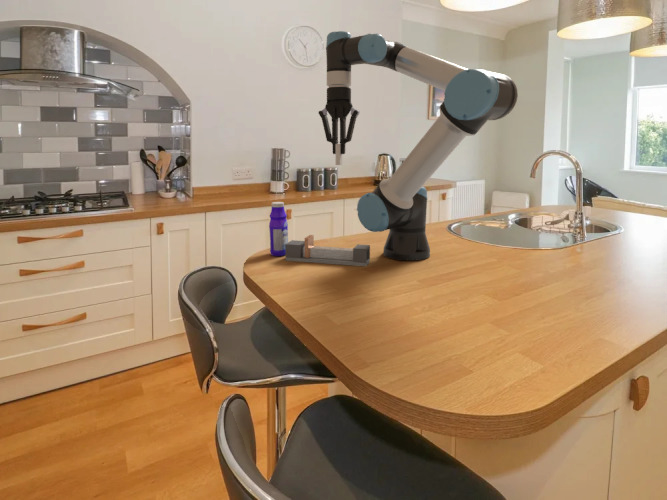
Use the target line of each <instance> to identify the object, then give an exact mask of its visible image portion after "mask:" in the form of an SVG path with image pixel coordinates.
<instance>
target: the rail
mask: <svg viewBox="0 0 667 500" xmlns="http://www.w3.org/2000/svg"><path fill="white" fill-rule="evenodd" d="M304 245H305V240H296V239H295V240H293V239H291V240H290V241H288V243H286V244H285V251H286V254H285V261H287V262H299V263H301V262H302V263H315V264H326V265H327V264H328V265H343V266H355V267H367V265H368V264H369V263H370V262H371V245H370V244H360V243H359V244H358V243H357V244H356V245H355V246H354V247H353V248H352V249H353V260H340V259H326V258H312V257H309V258H305V257H301V247H302V246H304Z"/></svg>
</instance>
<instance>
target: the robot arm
mask: <svg viewBox="0 0 667 500" xmlns="http://www.w3.org/2000/svg"><path fill="white" fill-rule="evenodd" d="M325 51H326V86H327V88H326V104H325V107H324V108H323V109H322V110H319V111H318V115H319V116H320V118H321V120H322V126H323V131H324V134H325V140H326V141H327V142H329V143H331V144H332V155H335V166H341V165H342V166H343V155H345V154H346V145H347V143H350V142H351V141H352V139H353V134H354V130H355V124H356V121H357V118H358V116H359V114H360V110H359V109H356V108H355V107H354V106H353V103H352V88H351V86H352V66H356V65H369V66H370V65H371V66H377V67H383V68H387V69H390V70H391V71H395V72H397V73H400V74H403V75H405V76H407V77H410V78H413V79H414V80H418V81H419V82H422V83H424V84H426V85H429V86H431V87H433V88H436V89H439V90H441V91H443V92H444V94H443V95H444V97H443V102H442V103H441V104H440V106H439V116H438V117H437V119H436V120H435V121H434V123H433V124H432V125H431V126H430V127H429V128H428V130H426V133H425V134H424V135H423V136H422V137H421V139H420V140H419V141H418V142H417V144H416V145H415V147H413V149H412V150H411V151H410V152H409V154H408V155H407V157H406V158H405V159H404V160H403V161H402V162H401V164H400V165H399V166H398V167H397V169H396V170H395V172H394V173H393V174H392V175H391V176H390V178H383V179H382V180H381V181H380V182H379V183H378V185H377V186H376V187H375V189H373V191H372V192H366V193H365V194H363V195H362V196H361V197H360V198H359V199H358V201H357V205H356V207H357V208H356V211H357V218H358V221H359V223H361V225H362V226H363V227H364V229H366V230H367V231H369V232H373V233H380V232H384V231H387V230H388V235H387V238H386V241H385V243H384V246H383V256H384V257H385V258H388V259H392V260H399V261H421V260H426V259H428V258H430V257H431V247H430V245H429V240H428V237H427V233H426V225H427V207H428V194H427V193H428V191H427V190H428V189H427V188H426V187H424V185H425V184H426V183H427V181H428V180H429V179H430V178H431V177H432V176H433V175H434V174H435V172H436V171H437V170H438V169H439V168H440V167H441V166H442V164H443V163H445V161H446V160H447V159H448V158H449V157H450V155H451V154H452V153H453V152H454V151H455V149H456V148H457V147H458V146H459V145H460V143H462V142H463V140H464V139H465V138H466V137H470V136H475V135H476V134H477V133H478V132H479V131H480V130H481V129H482V128H483V126H484V125H486V123H487V122H488V121H497V120H500V119H503V118H504V117H506V116H507V115H509V114H510V113H511V112H512V111H513V109H514V108H515V106H516V104H517V101H518V96H519V95H518V94H519V93H518V88H517V85H516V83H515V81H514V80H513V79H512V78H511V77H510V76H508V75H506V74H503V73H500V72H494V71H490V70H488V69H486V68H485V69H484V68H466V67H463V66H460V65H458V64H456V63H453V62H451V61H447V60H445V59H441V58H439V57H436V56H433V55H431V54H428V53H426V52H423V51H420V50H418V49H415V48H412V47H409V46H407V45H405V44H403V43H401V42H398V41H393V40H387V39H385V37H383V35H382V34H380V33H367V34H363V35H359V36H353V37H352V34H351V32H348V31H343V30H342V31H341V30H339V31H332V32H329V33H328V34H327V36H326V47H325ZM328 114H329V115H330V117H331V127H330V123H329V118H328ZM349 114H350V115H351V116H350V119H349V122H348V123H349V124H348V126H347V117H348V115H349ZM346 127H347V128H346ZM346 131H347V132H346Z"/></svg>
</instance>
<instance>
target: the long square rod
mask: <svg viewBox="0 0 667 500" xmlns="http://www.w3.org/2000/svg"><path fill="white" fill-rule="evenodd" d="M314 238H315V237H314V234H309V235H308V236H306V237H304V241H305V245H304V246H302V247H301V257H305V258H309V257H312V258H326V259H340V260H353V248H351V247H349V248H348V247H332V246H321V245H319V246H318V245H315V244H314V243H315V240H314Z"/></svg>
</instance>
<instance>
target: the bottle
mask: <svg viewBox="0 0 667 500" xmlns="http://www.w3.org/2000/svg"><path fill="white" fill-rule="evenodd" d="M270 205H271V210H270V214H269V218H270V220H269V226H268V228H269V229H268V230H269V251H270V255H271V256H272V257H282V256H286V251H285V244H286V243H288V242H289V232H288V231H289V227H288V226H289V225H288V220H287V216H288V215H287V213H286V211H285V202H283V201H273V202H271V204H270Z"/></svg>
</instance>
